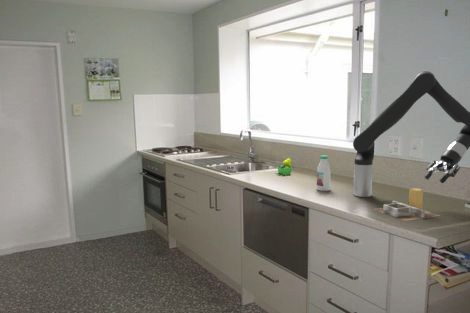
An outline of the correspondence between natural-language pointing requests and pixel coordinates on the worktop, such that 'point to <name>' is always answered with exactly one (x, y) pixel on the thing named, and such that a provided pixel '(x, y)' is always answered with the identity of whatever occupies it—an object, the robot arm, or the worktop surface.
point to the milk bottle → (323, 174)
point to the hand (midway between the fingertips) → (433, 180)
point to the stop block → (416, 198)
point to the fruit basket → (285, 167)
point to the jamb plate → (404, 211)
